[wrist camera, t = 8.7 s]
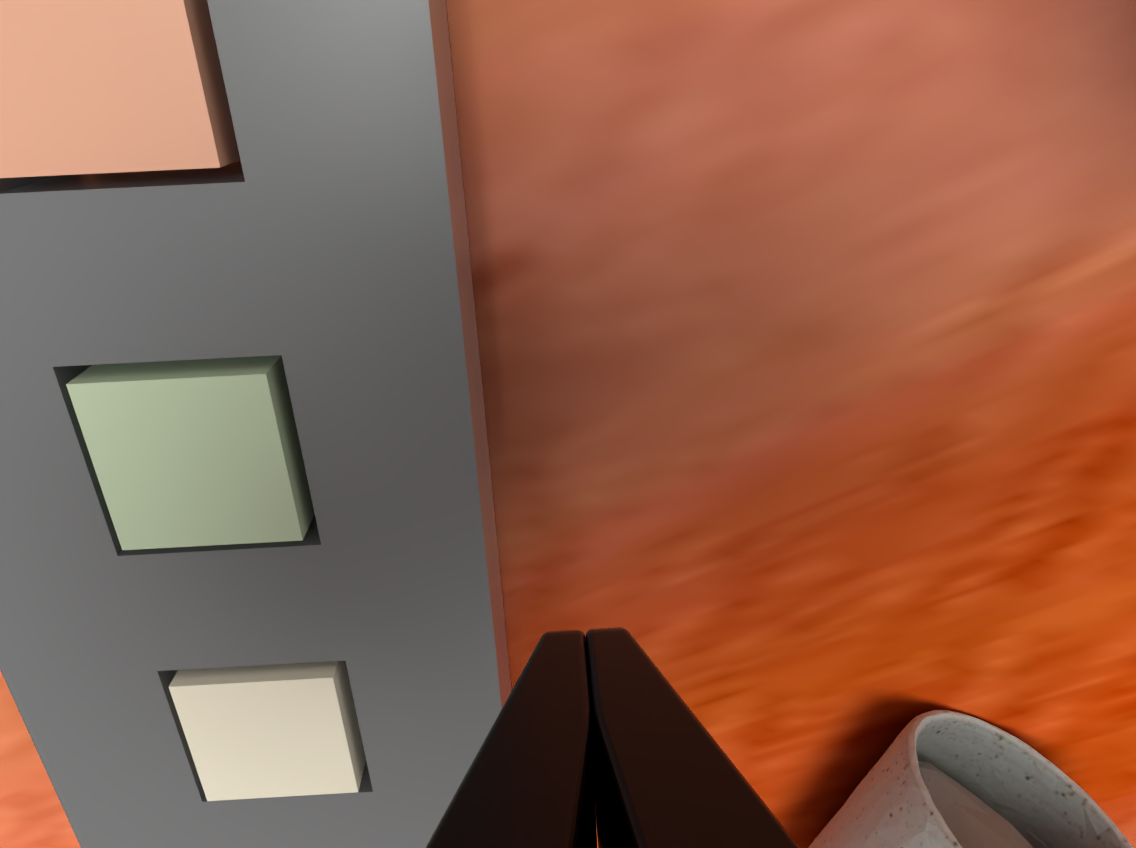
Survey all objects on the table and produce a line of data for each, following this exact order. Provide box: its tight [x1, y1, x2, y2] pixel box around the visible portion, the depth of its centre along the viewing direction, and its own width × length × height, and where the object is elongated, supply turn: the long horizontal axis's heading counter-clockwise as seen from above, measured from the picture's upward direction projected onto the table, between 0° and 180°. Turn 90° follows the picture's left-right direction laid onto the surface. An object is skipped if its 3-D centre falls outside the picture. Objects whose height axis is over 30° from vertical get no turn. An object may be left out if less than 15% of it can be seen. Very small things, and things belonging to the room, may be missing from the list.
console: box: [0, 0, 512, 848], centre depth 19 cm, size 12×26×3 cm, turn 3°
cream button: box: [169, 660, 366, 801], centre depth 22 cm, size 4×4×2 cm
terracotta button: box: [0, 0, 240, 178], centre depth 15 cm, size 4×4×2 cm
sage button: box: [66, 355, 315, 550], centre depth 18 cm, size 4×4×2 cm
